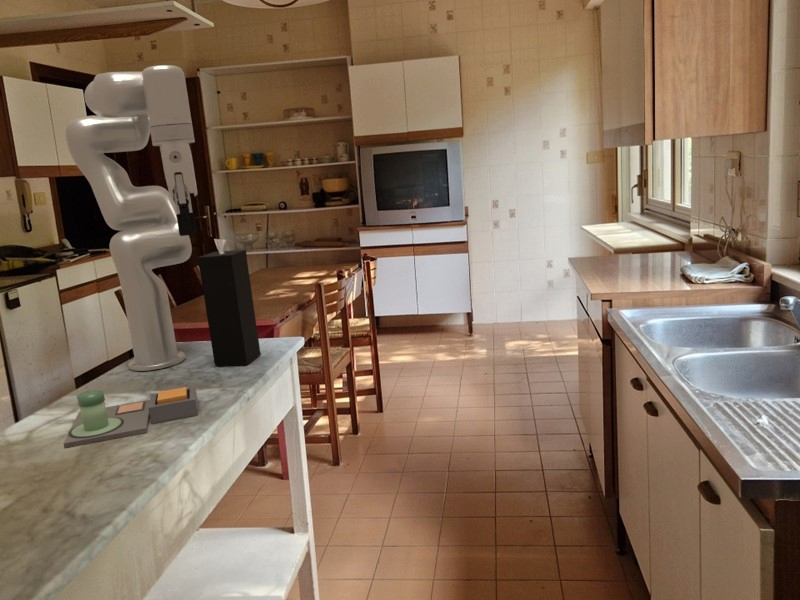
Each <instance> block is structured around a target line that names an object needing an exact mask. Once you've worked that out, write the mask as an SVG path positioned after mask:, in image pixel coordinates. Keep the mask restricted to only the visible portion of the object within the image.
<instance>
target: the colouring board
mask: <svg viewBox="0 0 800 600" xmlns="http://www.w3.org/2000/svg"><path fill="white" fill-rule="evenodd" d="M149 402H150V399H144V400H140V401H135V402H127V403H122V404H116V405H111V406H107V407H106V411H107V417H108V422H109V425H108V426H107V427H105V428H103V429H100V430H96V431H85V430H84V426H83V421H82V416H81V411H79V412H78V413H77V415H76V417H75V419H74V421H73V423H72V426H71V428H70V429H69V431H68V433H67V435H66V437H65V439H64V442H63V448H64V449H66V448H71V447H77V446H82V445H89V444H93V443H98V442H103V441H109V440H114V439H120V438H125V437H130V436H135V435H139V434H141V435H142V434H147V433H148V430H149V429H148V428H149V423H150V414H149V409H148V407H149Z"/></svg>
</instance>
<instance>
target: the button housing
mask: <svg viewBox="0 0 800 600" xmlns="http://www.w3.org/2000/svg"><path fill="white" fill-rule="evenodd" d="M187 393H188V399H185V400H180V401H174V402H169V403H163V404H158V402H157V398H158V392H157V393H151V394H150V397H149V400H150V402H149V407H148V409H149V414H150V418H149V421H150V423H151V425H152V424H157V423H158V424H159V423H163V422H169V420H170V421H175V420H180V419H186V418H190V416H191V417H196V416H199V399H198V393H197V389H196V386H192V387H187ZM185 417H186V418H185ZM179 418H180V419H179ZM174 419H175V420H174Z"/></svg>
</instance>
